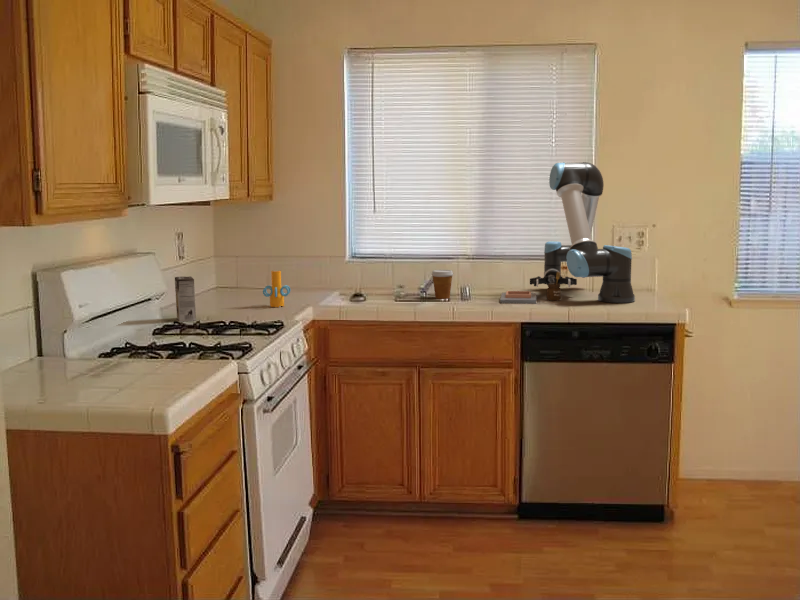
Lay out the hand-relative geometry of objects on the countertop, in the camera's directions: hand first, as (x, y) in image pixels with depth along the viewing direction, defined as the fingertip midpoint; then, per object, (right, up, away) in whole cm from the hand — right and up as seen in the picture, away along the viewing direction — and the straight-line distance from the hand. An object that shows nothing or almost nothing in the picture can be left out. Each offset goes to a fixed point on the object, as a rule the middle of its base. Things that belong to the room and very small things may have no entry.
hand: (553, 283), depth 374 cm
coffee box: (-148, -15, -38) cm, 153 cm away
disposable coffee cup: (-47, -6, +11) cm, 49 cm away
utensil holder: (0, -7, 0) cm, 7 cm away
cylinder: (-117, -10, -8) cm, 118 cm away
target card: (-15, -7, +3) cm, 16 cm away
